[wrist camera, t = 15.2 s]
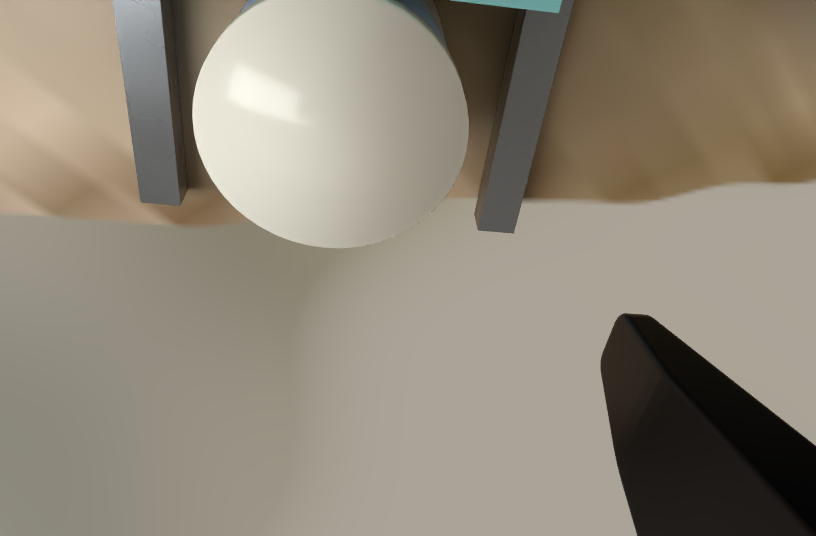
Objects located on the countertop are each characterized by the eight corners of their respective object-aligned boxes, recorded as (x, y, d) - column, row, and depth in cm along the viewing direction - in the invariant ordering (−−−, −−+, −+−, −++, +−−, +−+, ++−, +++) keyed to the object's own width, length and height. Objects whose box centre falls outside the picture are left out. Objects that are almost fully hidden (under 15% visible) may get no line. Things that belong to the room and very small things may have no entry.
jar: (412, 166, 20) (421, 270, 16) (224, 118, 19) (179, 216, 15) (477, -24, 17) (510, 42, 13) (256, -96, 16) (210, -50, 12)
